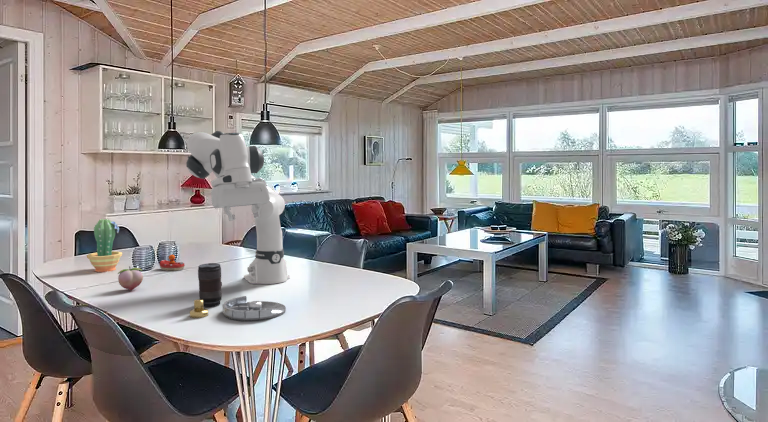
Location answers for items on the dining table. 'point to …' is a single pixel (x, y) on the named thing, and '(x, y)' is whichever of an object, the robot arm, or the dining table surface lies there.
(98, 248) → the potted cactus
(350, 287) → the dining table surface
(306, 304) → the dining table surface
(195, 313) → the planet gear
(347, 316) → the dining table surface
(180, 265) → the toy boat
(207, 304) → the camera lens
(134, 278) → the decorative fruit
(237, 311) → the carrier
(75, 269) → the dining table surface
